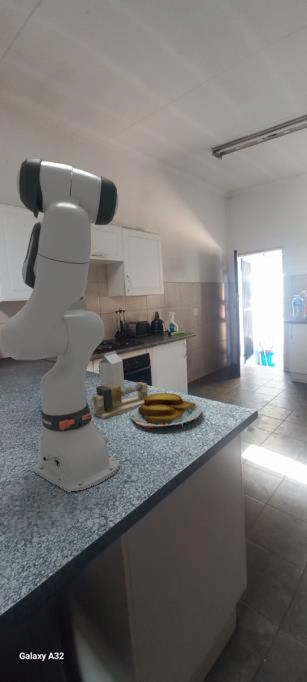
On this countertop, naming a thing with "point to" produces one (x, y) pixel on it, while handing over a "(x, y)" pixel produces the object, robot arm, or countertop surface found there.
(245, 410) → the countertop surface
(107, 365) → the milk carton
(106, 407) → the dark grey hooked block
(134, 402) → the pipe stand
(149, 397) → the food on plate
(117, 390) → the tan block
